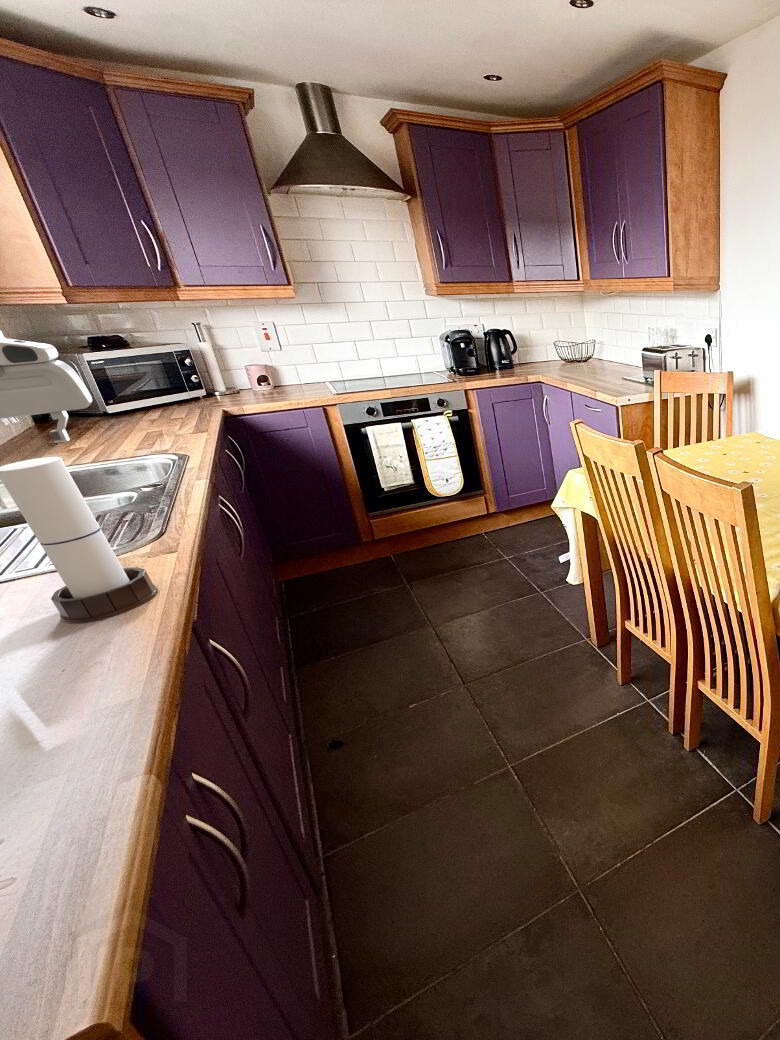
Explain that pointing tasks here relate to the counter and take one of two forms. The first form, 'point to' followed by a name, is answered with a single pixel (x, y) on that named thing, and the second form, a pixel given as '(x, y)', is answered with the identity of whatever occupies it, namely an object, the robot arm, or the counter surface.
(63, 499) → the cylindrical container
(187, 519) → the counter surface
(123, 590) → the ring
